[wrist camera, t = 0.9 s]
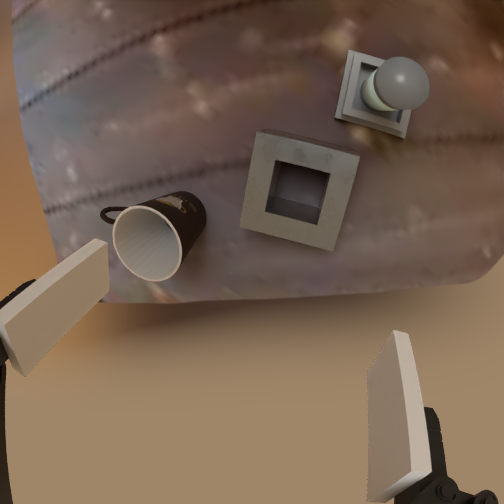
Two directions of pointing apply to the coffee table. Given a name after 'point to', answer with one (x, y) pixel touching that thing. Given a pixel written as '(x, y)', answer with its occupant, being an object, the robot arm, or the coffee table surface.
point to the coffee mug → (157, 233)
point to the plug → (396, 86)
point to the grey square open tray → (355, 108)
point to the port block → (289, 212)
